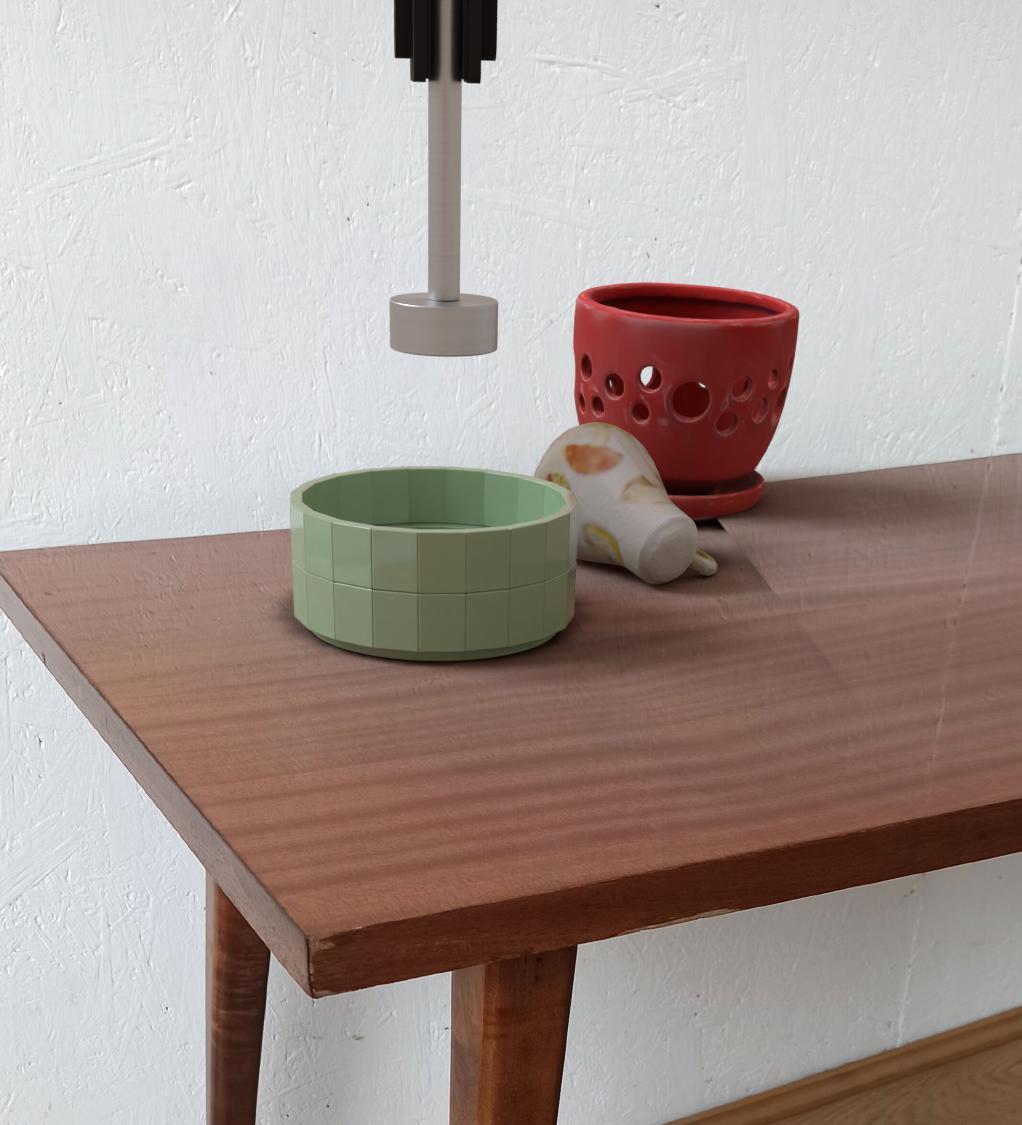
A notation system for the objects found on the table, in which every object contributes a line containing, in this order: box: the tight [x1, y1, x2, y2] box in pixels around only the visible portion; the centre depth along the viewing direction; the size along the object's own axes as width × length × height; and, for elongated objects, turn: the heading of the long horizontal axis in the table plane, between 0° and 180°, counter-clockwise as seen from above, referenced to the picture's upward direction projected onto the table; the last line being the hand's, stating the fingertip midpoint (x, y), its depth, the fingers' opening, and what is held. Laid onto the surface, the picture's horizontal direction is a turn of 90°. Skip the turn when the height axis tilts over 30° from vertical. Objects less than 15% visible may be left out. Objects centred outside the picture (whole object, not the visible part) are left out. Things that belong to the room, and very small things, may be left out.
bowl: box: [289, 465, 579, 662], centre depth 85 cm, size 14×14×6 cm
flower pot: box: [572, 281, 800, 523], centre depth 105 cm, size 13×13×12 cm
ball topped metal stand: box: [388, 0, 499, 358], centre depth 74 cm, size 5×5×16 cm
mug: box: [532, 422, 718, 585], centre depth 95 cm, size 8×10×10 cm
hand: (445, 78), depth 73 cm, fingers closed on ball topped metal stand, 1 cm apart
